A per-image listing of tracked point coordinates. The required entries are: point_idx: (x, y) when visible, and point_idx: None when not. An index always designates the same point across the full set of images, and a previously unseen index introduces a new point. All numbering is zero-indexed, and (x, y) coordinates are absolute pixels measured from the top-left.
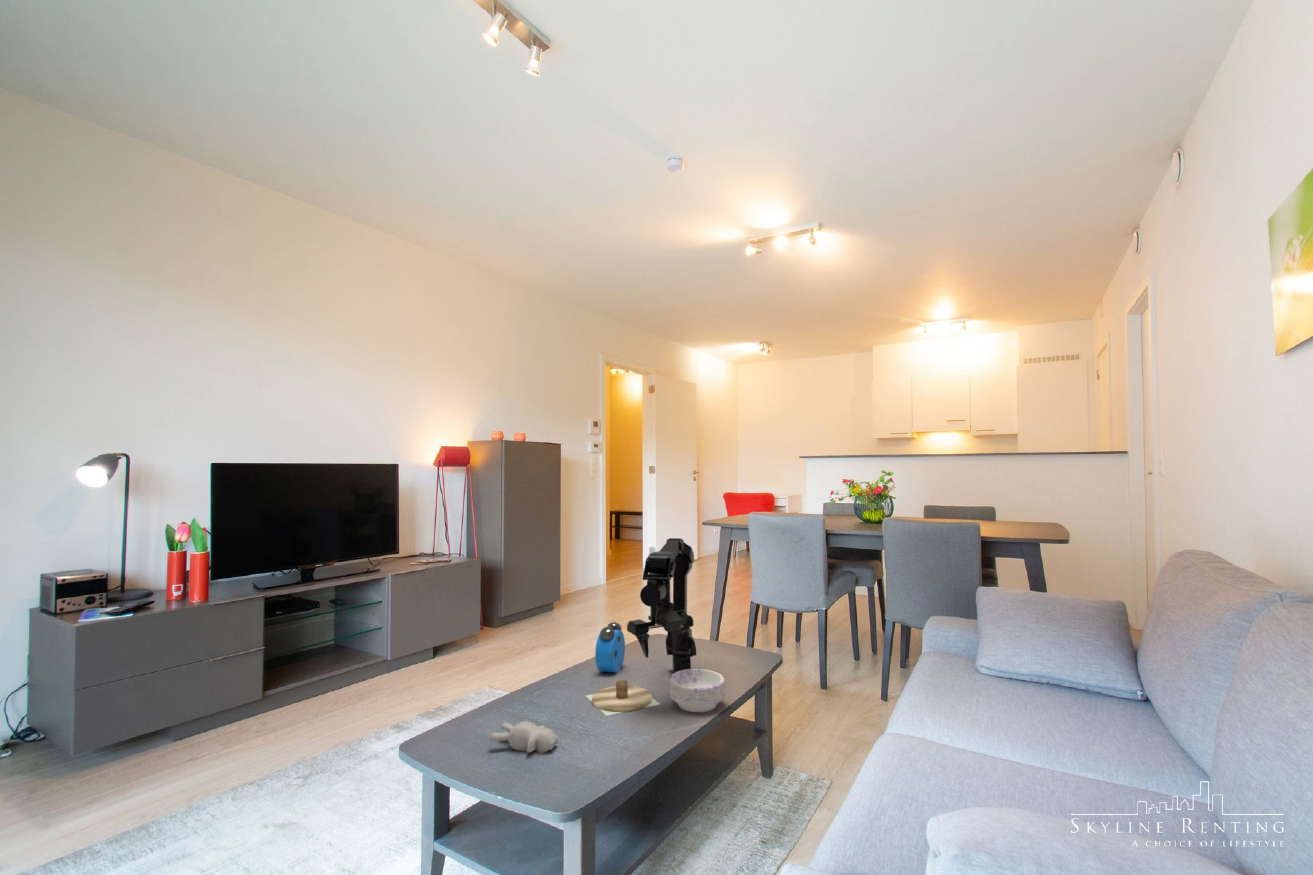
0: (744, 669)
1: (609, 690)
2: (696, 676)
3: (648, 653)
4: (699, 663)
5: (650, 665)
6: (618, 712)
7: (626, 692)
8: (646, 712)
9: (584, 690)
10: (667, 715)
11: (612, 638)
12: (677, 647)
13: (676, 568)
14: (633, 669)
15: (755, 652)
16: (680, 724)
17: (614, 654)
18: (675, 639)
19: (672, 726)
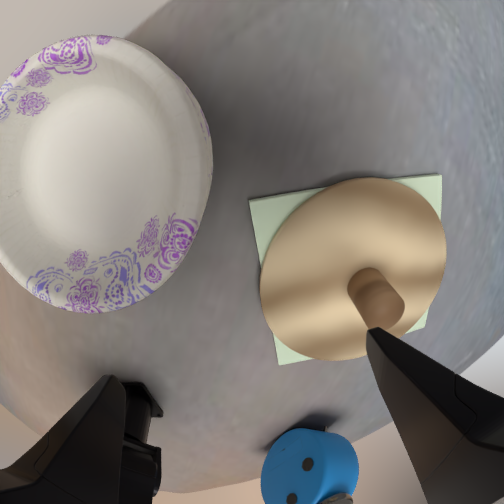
0: (4, 360)
1: None
2: (63, 269)
3: (381, 348)
4: None
5: (200, 443)
6: (407, 183)
7: (363, 281)
8: (315, 162)
9: None
10: (247, 109)
11: (322, 498)
12: (86, 397)
13: None
14: (245, 437)
15: (6, 406)
16: (225, 25)
17: (313, 462)
18: (86, 458)
19: (260, 19)
